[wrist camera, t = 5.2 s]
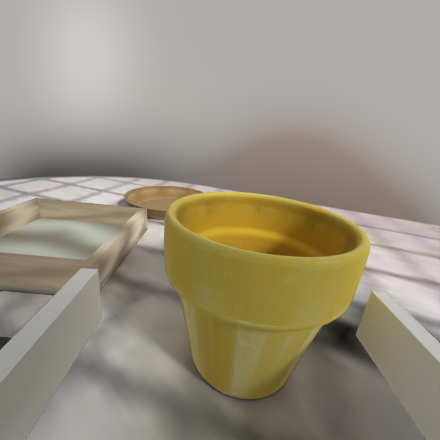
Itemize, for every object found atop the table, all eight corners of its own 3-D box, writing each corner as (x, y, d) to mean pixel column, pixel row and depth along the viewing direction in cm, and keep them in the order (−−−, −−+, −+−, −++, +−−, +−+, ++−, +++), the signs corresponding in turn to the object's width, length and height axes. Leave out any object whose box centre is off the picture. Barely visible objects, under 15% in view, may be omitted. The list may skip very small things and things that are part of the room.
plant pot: (241, 285, 23) (256, 185, 20) (351, 365, 16) (403, 229, 13) (135, 333, 17) (131, 197, 14) (238, 502, 10) (283, 300, 6)
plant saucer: (228, 215, 43) (230, 200, 42) (157, 234, 33) (157, 216, 32) (177, 195, 52) (177, 183, 51) (108, 205, 42) (107, 190, 41)
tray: (94, 298, 20) (90, 266, 19) (-90, 282, 19) (-104, 248, 18) (147, 229, 33) (146, 208, 32) (39, 219, 33) (35, 198, 32)
